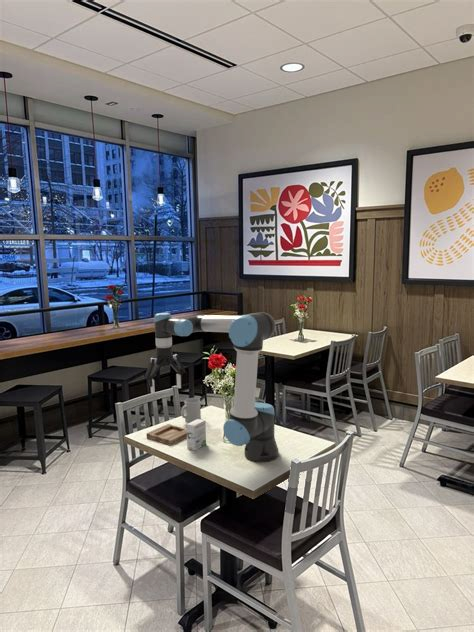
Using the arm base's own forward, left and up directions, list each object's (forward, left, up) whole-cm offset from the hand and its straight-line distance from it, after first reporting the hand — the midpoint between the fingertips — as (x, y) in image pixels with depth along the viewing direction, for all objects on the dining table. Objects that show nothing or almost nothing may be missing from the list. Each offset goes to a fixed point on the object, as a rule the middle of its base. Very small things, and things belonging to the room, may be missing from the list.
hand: (166, 390), depth 215 cm
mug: (+9, -26, -25) cm, 38 cm away
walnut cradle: (+4, -5, -25) cm, 26 cm away
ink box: (-15, -4, -25) cm, 30 cm away
